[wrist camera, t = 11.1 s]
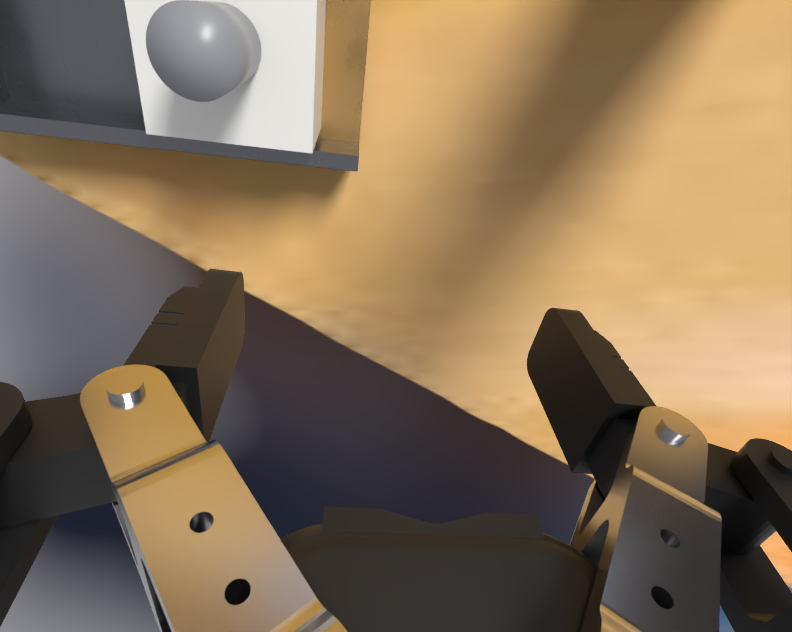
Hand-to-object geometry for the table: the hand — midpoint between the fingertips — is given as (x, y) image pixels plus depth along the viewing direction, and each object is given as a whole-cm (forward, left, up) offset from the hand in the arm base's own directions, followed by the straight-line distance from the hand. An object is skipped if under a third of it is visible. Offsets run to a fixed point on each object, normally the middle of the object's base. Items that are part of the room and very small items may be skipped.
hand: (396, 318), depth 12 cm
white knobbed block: (-4, -8, -24) cm, 26 cm away
